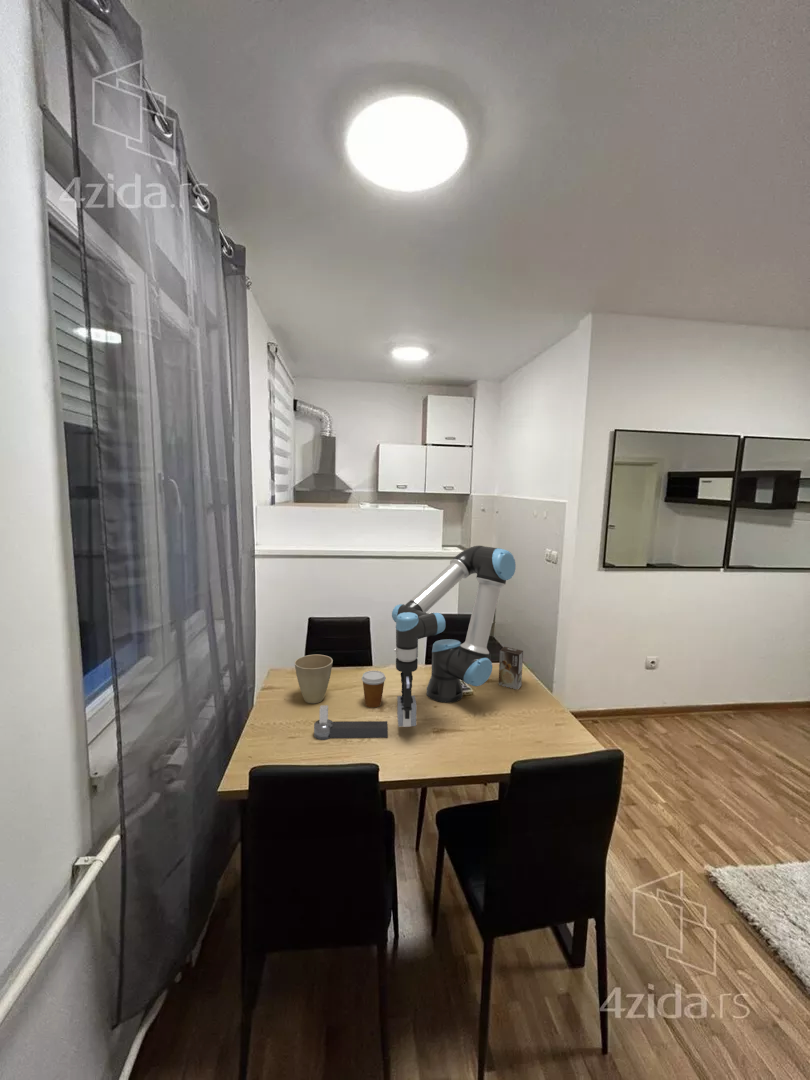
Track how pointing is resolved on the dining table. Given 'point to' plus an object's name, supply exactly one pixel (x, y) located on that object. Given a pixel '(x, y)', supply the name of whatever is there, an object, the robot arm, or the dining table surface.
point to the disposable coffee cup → (373, 687)
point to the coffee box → (510, 667)
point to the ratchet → (347, 728)
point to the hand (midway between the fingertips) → (406, 720)
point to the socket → (400, 712)
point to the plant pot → (313, 676)
